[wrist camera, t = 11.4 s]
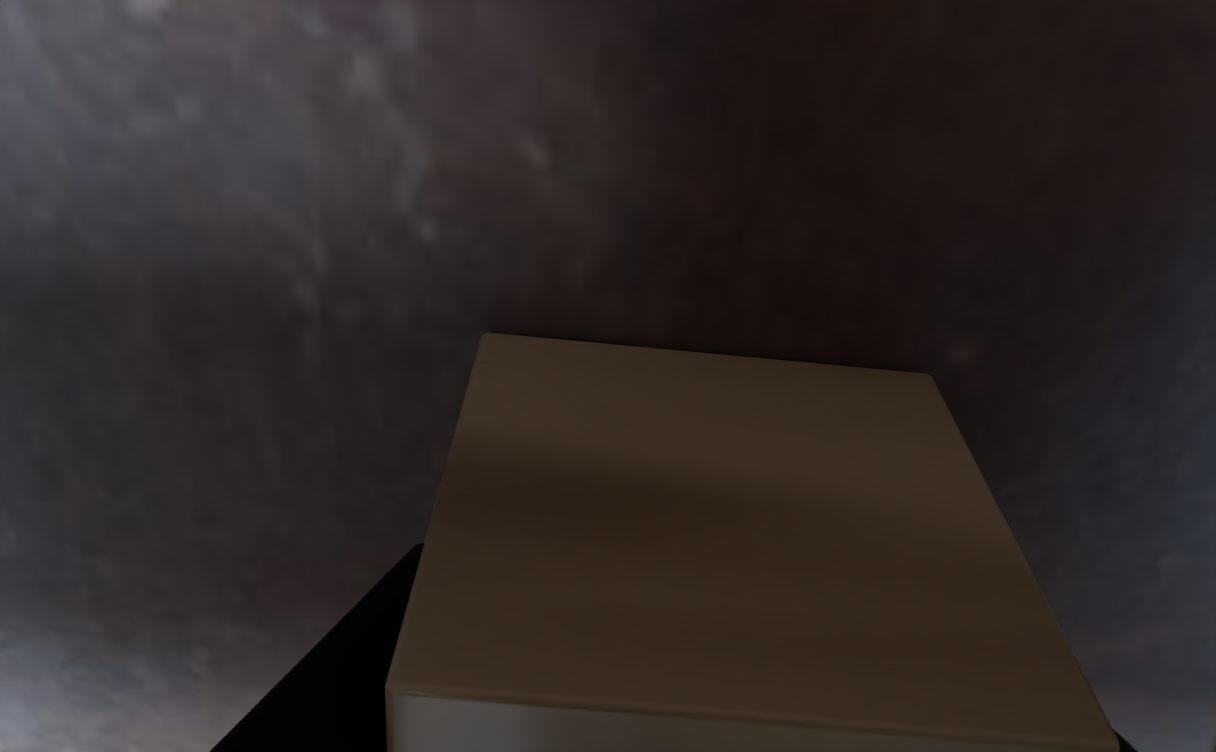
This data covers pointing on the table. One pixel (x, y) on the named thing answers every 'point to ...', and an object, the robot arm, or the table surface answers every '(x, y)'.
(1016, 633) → the maple block
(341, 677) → the robot arm
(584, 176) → the table surface
